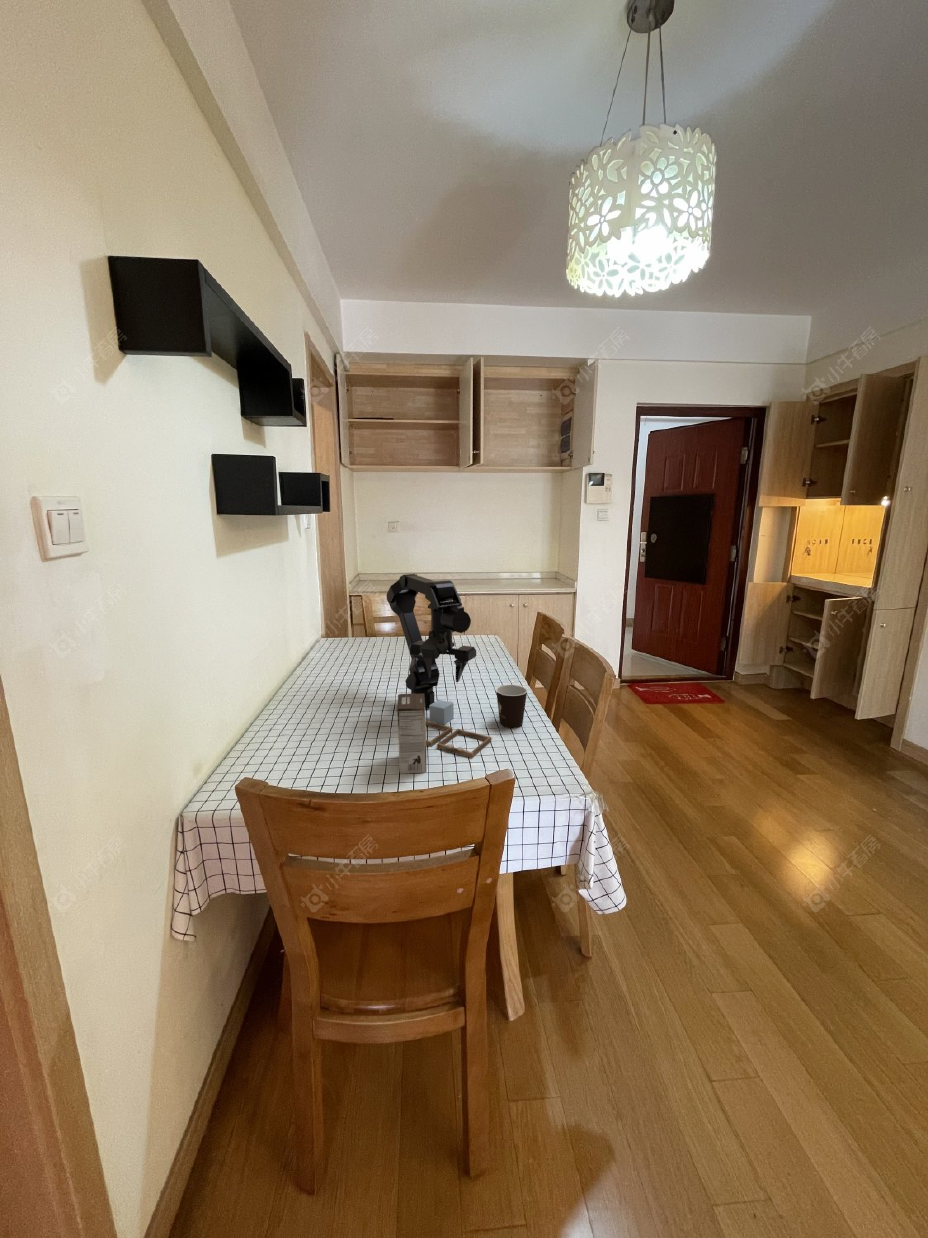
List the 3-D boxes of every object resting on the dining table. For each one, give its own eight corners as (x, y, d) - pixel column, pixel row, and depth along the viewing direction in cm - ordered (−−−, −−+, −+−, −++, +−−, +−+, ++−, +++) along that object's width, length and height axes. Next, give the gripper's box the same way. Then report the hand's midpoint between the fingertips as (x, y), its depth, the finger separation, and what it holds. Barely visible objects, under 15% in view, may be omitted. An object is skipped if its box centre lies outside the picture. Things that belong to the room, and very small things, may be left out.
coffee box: (400, 755, 119) (398, 693, 116) (426, 753, 120) (424, 692, 116) (398, 774, 110) (396, 708, 107) (427, 772, 111) (425, 707, 107)
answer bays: (398, 738, 128) (398, 733, 128) (421, 723, 137) (421, 718, 137) (471, 759, 117) (471, 753, 117) (491, 741, 126) (491, 736, 126)
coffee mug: (525, 731, 132) (525, 696, 129) (493, 728, 133) (494, 694, 131) (528, 714, 143) (529, 682, 141) (499, 712, 144) (499, 680, 142)
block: (429, 721, 138) (429, 705, 137) (439, 715, 143) (438, 699, 142) (444, 725, 136) (444, 708, 135) (453, 718, 140) (453, 702, 139)
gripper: (397, 629, 131) (399, 684, 134) (458, 635, 122) (459, 694, 126) (418, 621, 140) (420, 672, 144) (477, 626, 132) (477, 681, 135)
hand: (443, 679), depth 137 cm, fingers open, 9 cm apart
